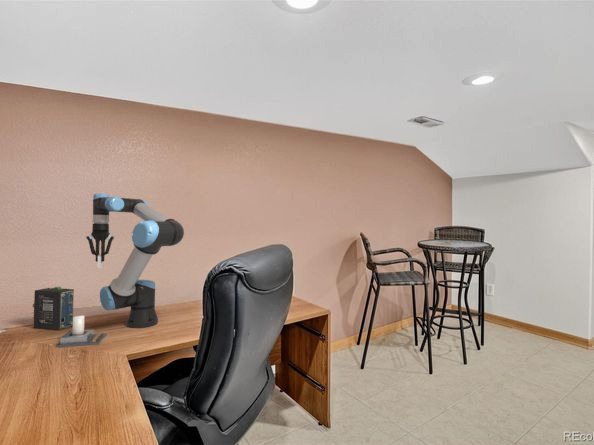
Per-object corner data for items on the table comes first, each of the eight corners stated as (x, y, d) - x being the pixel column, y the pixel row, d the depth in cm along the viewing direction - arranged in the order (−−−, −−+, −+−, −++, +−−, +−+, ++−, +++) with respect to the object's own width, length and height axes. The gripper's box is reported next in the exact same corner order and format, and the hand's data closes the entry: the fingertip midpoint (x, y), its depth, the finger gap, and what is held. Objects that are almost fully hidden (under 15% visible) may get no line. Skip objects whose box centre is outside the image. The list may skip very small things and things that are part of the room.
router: (61, 330, 165) (62, 289, 165) (30, 328, 168) (32, 288, 169) (75, 326, 172) (76, 287, 173) (45, 323, 176) (46, 285, 176)
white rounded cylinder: (84, 337, 153) (85, 314, 153) (82, 339, 148) (83, 316, 149) (73, 338, 151) (74, 315, 152) (70, 340, 147) (71, 317, 147)
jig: (106, 335, 159) (106, 327, 159) (98, 344, 146) (99, 336, 146) (67, 337, 154) (67, 330, 154) (56, 347, 142) (56, 339, 142)
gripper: (116, 223, 183) (115, 266, 183) (89, 223, 180) (88, 267, 179) (112, 223, 176) (111, 268, 176) (84, 222, 172) (83, 269, 172)
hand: (99, 267), depth 177 cm, fingers closed
